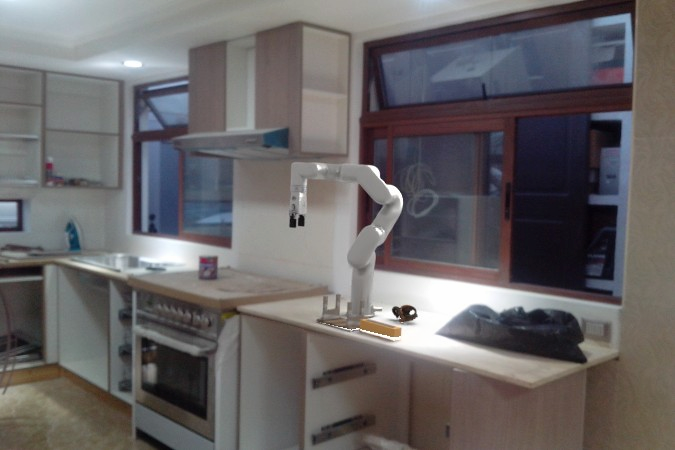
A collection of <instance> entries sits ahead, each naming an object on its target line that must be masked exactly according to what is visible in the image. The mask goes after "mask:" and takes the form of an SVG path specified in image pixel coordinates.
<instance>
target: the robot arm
mask: <svg viewBox="0 0 675 450" xmlns="http://www.w3.org/2000/svg"><path fill="white" fill-rule="evenodd" d="M308 179H309V180H325V181H337V182H341V183H344V184H345V183H346V184H347V183H348V184H356V185H360V187H362V189H363V190H364V191H365V192H366V193H367V194H368V196H369V197H370V198H371V199H372V201H374V202H375V203H377V204H379V205H382V207H381V209H380V210H379V211H378V213H377V214H376V217H375V218H374V220H373V221H372V222H371V224H370V225H367V226H364V227H363V228H362V229H361V231H360V232H359V234H358V235H357V237H356V238H355V240H354V241H353V243H352V245H351V246H350V248H349V250H348V252H347V253H346V254H347V255H346V260H347V261H346V262H347V263H348V265H349V266H350V267H352V270H351V271H352V272H351V285H350V286H351V287H350V302H352V316H355V315H359V313H360V300H365V307H364V319H370V318H369V317H371V318H374V317H375V316H376V313H375V312H383V307H382V306H374V305H372V304H373V288H374V287H373V286H374V285H373V284H374V272H375V266H376V258H377V257H376V255H377V254H376V252H375V251H376V249H377V248H378V247H380V246H381V245H382V244H384V243H385V241H386V240H387V237H388V235H389V234H390V232H391V231H392V230H393V227H394V226H395V224H396V222H397V221H398V219H399V217H400V215H401V214H402V210H403V205H404V201H403V199H404V198H403V196H402V193H401V192H400V190H399V189H398V188H397V187H396V186H394V185H393V184H387V183H385V181H384V180H383V179H381V173H380V170H379V168H378V167H376V166H375V165H371V164H359V163H358V164H355V163H340V164H339V163H325V162H314V161H313V162H303V161H302V162H301V161H300V162H299V161H294V162H292V163H291V166H290V187H289V188H290V189H289V192H290V199H289V209H288V212H289V213H288V215H289V218H288V219H289V221H288V222H289V224H288V227H289V228H290V229H296V228H297V227H305V223H306V221H305V220H306V214H307V213H308V199H307V198H308V197H307V193H308ZM297 216H298V217H297ZM345 314H346V315H347V311H346V313H345Z"/></svg>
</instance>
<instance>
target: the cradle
mask: <svg viewBox="0 0 675 450" xmlns="http://www.w3.org/2000/svg"><path fill="white" fill-rule="evenodd" d="M328 297H329V296H328V295H324V296H323V298H322V316H321V318H316V321H318V322H317V323H319V322H321V323H320V324H322V323H326V324H330V325H334V326H338V327H343V328H347V329H351V330H352V329H356V328H360V320H362V319H365V318H364V307H365V300H360V313H359V315H355V316H352V302H351V301H347V305H346V312H347V314H346V318H345V317H341V316H340V312H341V294H340V293H337V294H335V307H334V308H329V309H328V302H329V301H328V300H329V298H328ZM326 324H325V325H326Z"/></svg>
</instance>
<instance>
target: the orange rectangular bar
mask: <svg viewBox="0 0 675 450" xmlns="http://www.w3.org/2000/svg"><path fill="white" fill-rule="evenodd" d="M360 329H362V330H366V331H370V332H374V333H378V334H382V335H387V336H390V337H399V336H401V337H402V327H400V326H396V325H392V324H388V323H385V322H381V321H377V320H373V319H371V318H364V319H362V320H360Z"/></svg>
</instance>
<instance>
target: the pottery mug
mask: <svg viewBox="0 0 675 450" xmlns="http://www.w3.org/2000/svg"><path fill="white" fill-rule="evenodd" d="M391 311H392V315H394V316H395V318H396V319H399V322H400V323H401V322H404V323H406V322H412V321H414V320H416V319H417V318H419V317H418V316H419V315H418V314H417V313H418V311H417V309H416V307H414V306H413V305H410V304H403V305H401V306H397V305H396V306H395V305H394V306H393V307H392V309H391ZM412 311H414V312H413V314H411V312H412ZM400 318H401V319H400Z"/></svg>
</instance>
